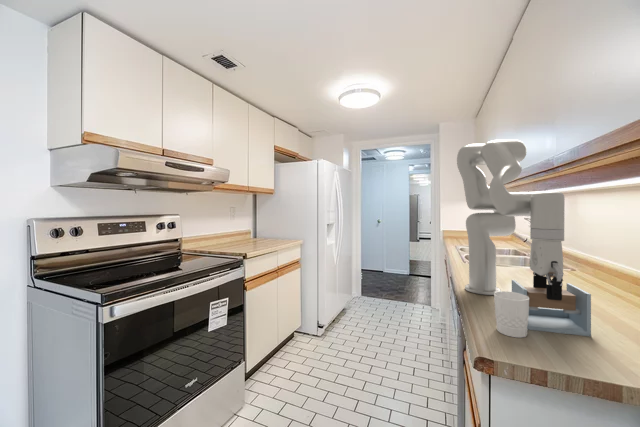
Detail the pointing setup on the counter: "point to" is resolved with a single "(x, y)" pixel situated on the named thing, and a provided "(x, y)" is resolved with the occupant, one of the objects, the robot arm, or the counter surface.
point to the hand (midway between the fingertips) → (546, 294)
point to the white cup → (511, 313)
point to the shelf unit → (561, 314)
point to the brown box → (540, 300)
